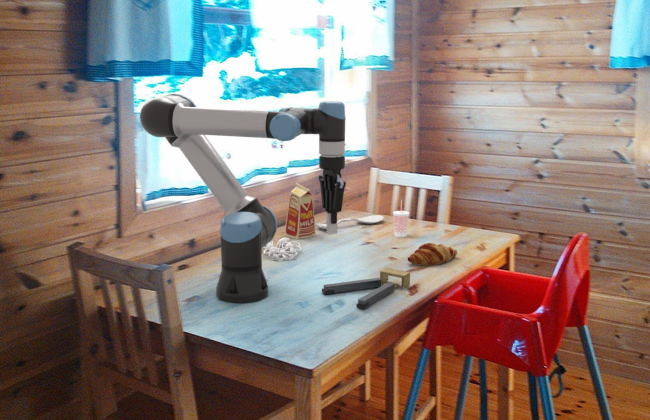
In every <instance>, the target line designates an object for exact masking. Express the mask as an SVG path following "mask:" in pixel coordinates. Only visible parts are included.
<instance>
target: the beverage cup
mask: <svg viewBox="0 0 650 420" xmlns="http://www.w3.org/2000/svg"><path fill="white" fill-rule="evenodd" d="M392 214H393V224H394V225H393V228H394V230H393V232H394V233H393V234H394V236H395V237H398V238H404V237H407V236H408V235H407V234H408V223H409V215H410V212H409V211H406V210H403V199H400V210H395V211H393V212H392Z"/></svg>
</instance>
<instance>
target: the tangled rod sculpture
mask: <svg viewBox="0 0 650 420" xmlns="http://www.w3.org/2000/svg"><path fill="white" fill-rule="evenodd" d="M274 243H275V241H274V240H273V239H272V240H271V241H270V242H269V243H267V244H266V245H265V246H264V247H263V248H262V250H263V255H268V257H270V258H273V259H274V260H277V259H278V260H282V261H287V260H293V259H294V258H295V256H297V255H298V253H299V252H301V251H302V248H301V244H300V243H299V242H297V241H294V240H293V241H291V238H290V237H281V238H280V239H279V238H278V240H277V244H276V246H275V245H274ZM298 248H299V250H296V249H298ZM287 256H288V257H287Z"/></svg>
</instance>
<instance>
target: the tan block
mask: <svg viewBox="0 0 650 420" xmlns="http://www.w3.org/2000/svg"><path fill="white" fill-rule="evenodd" d="M389 276H391V277H395V278H401V288H402V289H405V288H406V287H408V286H410V285H411V284H410V283H411V271H406V270H405V271H404V270H399V269H394V268H389V267H385V268H383V269H381V270H379V278H380V279H381V280H382V284H384V283H386V282H389Z"/></svg>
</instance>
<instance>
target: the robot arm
mask: <svg viewBox="0 0 650 420" xmlns="http://www.w3.org/2000/svg"><path fill="white" fill-rule="evenodd" d="M345 106H346V105H345V104H344V102H341V101H337V100H336V101H331V100H330V101H329V100H328V101H327V100H326V101H319V106H318V107H316V108H311V107H310V108H303V107H291V106H290V107H282V108H280V109H279V111H277V110H276V111H275V110H274V111H272V110H271V111H270V110H256V109H255V110H254V109H253V110H250V109H232V108H212V107H211V108H210V107H198V106H196V104H195V102H194V101H193V100H192V99H191V98H189V97H188V96H186V95H183V94H176V93H171V94H167V95H164V96H155V97H153V98H151V99H148V100H147V101H146V102H145V103H144V104H143V106H142V108H141V109H140V113H139V121H140V124H141V126H142V128H143V129H144V130H145V132H146V133H147V134H149V135H151V136H153V137H155V138H165V139H166V141H167V142H168V143H169V145H170V146H171V147H174V148H178V149H180V151H181V152H182V154H183V155H184V157H185V158H186V160H187V161H188V162H189V163H190V165H191V167H192V168H193V170H194V171H195V172H196V173H197V174H198V176H199V177H200V179H201V180H202V182H203V183H204V184H205V186H206V187H207V188H208V189H209V191H210V192H211V194H212V196H213V197H214V198H215V199H216V201H217V203H218V204H219V205H220V206H221V208H222V209H223V210H224V212H225V216H224V217H223V218H222V220H221V221H220V227H219V228H220V229H219V234H220V255H221V257H220V258H221V260H220V261H221V272H220V274H219V278H218V281H217V284H216V290H215V291H216V292H215V293H216V295H215V296H216V298H217V299H218V300H220V301H223V302H226V303H233V304H234V303H236V304H237V303H238V304H241V303H242V304H243V303H244V304H246V303H253V302H258V301H261V300H263V299H265V298H267V297H268V295H269V284H268V282H267V279H266V278H267V277H266V276H265V273H264V270H263V265H262V264H263V259H262V258H263V256H262V255H263V254H262V251H263V249H262V248H263V247H264V246H265V245H266V244H267V243H269V242H270V241H271V240H272V241H273V238H274V237H275V235H276V233H277V230H278V220H277V217H276V215H275V214H274V212H273V211H272V210H271V209H270V208H268V207H267V206H264V205H263V204H262V203H261V202H260V201H259V200H258V198H257V197H256V196H251V195H248V192H247V191H246V190H245V188H244V187H243V186H242V184H241V183H240V181H239V180H238V179H237V177H236V176H235V175H234V174H233V172H232V171H231V169H230V168H229V166H228V165H227V164H226V162H225V160H224V159H223V158H222V157H221V156H220V154H219V153H218V151H217V150H216V149H215V147H214V145H213V144H212V143H211V141H210V140H209V139H208V138H207V136H222V137H236V138H237V137H239V138H260V139H273V140H278V141H280V142H290V141H293V140H294V139H295V138H297V137H299V136H301V135H319V136H318V154H319V156H318V160H319V161H318V167H319V169H321V170H322V175H318V181H319V186H320V194H321V195H320V196H321V197H320V198H321V205H322V209H325V210H324V211H325V212H326V224H327V229H326V234H327V235H336V234H338V225H337V221H338V213H340V212H342V209H343V201H344V193H345V188H346V185H347V182H346V181H345V180H344V181H343V179H342V173H341V172H342V170H343V169H345V167H346V164H345V163H346V157H345V156H344V155H345V153H346V147H345V146H346V107H345Z"/></svg>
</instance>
